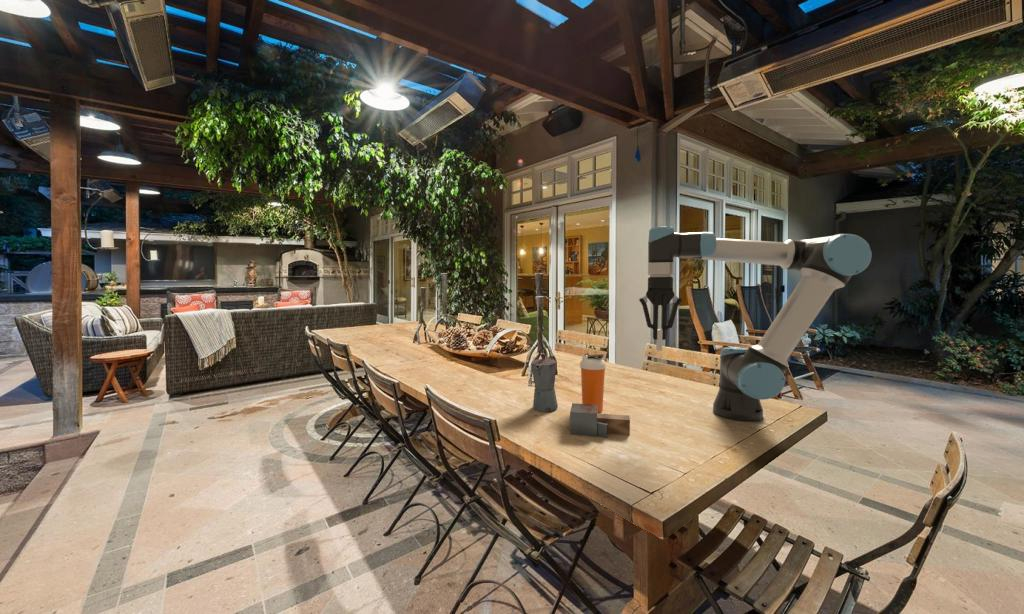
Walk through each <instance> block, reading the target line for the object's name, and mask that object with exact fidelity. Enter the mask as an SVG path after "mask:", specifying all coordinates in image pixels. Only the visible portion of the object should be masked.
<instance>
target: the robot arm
mask: <svg viewBox="0 0 1024 614" xmlns="http://www.w3.org/2000/svg"><path fill="white" fill-rule="evenodd" d="M647 244H648V245H647V246H648V248H647V250H648V251H647V252H648V255H647V260H648V261H647V262H648V265H647V275H648V276H649V277H648V278H647V290H646V293H645V295H644V296H642V297H640V298H638V301H639V302H640V304H641V305H642V310H643V313H644V314H643V315H644V318H645V322H646V326H647V328H649V329H652V338H653V340H655V342H656V343H655V347H656V348H655V349H656V351H660V352H661V351H663V340H664V341H666V339H667V330H669V329H672V328H673V327H674V326H673V325H674V322H675V318H676V315H677V312H678V309H679V305H680V304H681V303H682V301H683V299H682V298H681V297H678V296H676V295H675V292H674V278H673V275H674V258H678V259H683V260H684V259H685V260H686V259H693V260H705V261H706V260H707V261H719V262H732V263H742V264H743V263H746V264H758V265H769V266H779V267H781V269H783V270H792V271H797V272H798V271H799V272H801V275H802V277H801V279H800V280H799V282H798V283H797V284H796V286H795V288H794V290H793V291H792V292H791V294H790V295H789V297H788V298H787V300H786V301H785V303H784V304H783V306H782V307H781V309H780V311H779V312H778V314H777V315H776V317H775V318H774V319H773V320H772V322H771V324H770V325H769V327H768V329H767V330H766V331H765V333H764V334H763V336H762V337H761V339H760V340H759V342H758V343H757V344H753V345H750V346H749V347H732V346H731V347H727V346H726V347H723V348H721V350H720V355H719V361H720V362H719V365H720V366H719V388H718V391H717V394H716V396H715V399H714V400H713V405H712V411H713V413H715V414H716V415H718V416H720V417H723V418H727V419H729V420H730V419H731V420H735V421H743V422H755V421H761V420H763V418H764V410H763V406H762V403H761V400H770V399H772V398H775V397H776V396H779V394H781V392H783V390H784V387H785V384H786V379H785V374H786V372H787V371H788V369H789V367H790V366H789V362H788V359H789V357H790V356H791V354H792V353H793V351H794V350H795V349H796V347H797V346H798V344H799V342H800V341H801V340H802V338H803V337H804V336H805V334H806V333H807V331H808V329H809V328H810V326H811V325H812V323H813V322H814V321H815V319H816V318H817V316H818V315H819V313H820V312H821V311H822V309H823V307H824V306H825V304H826V302H828V300H829V298H830V297H831V296H832V294H833V293H834V291H835V290H838V289H841V288H844V287H846V285H847V283H848V282H849V281H850V279H851V277H853V276H855V275H858V274H861V273H862V272H864V271H865V270H866V269H867V268H868V267H869V265H870V264H871V261H872V256H873V253H872V250H871V247H870V244H869V243H868V241H867V240H865V238H863V237H861V236H859V235H857V234H852V233H837V234H834V235H827V236H820V237H814V238H808V239H807V238H806V239H787V240H785V241H784V242H783V241H767V240H754V239H753V240H752V239H751V240H750V239H749V240H748V239H737V238H724V237H723V238H720V237H717V236H716V234H715V232H711V231H697V232H695V231H693V232H675V228H674V227H673V226H671V225H670V226H667V225H663V226H662V225H661V226H654V227H651V228H650V229H649V231H648V241H647ZM648 301H649V302H650V304H652V309H653V310H652V320H651V317H650V312H649V308H648V305H647V303H648ZM670 302H672V303H673V304H672V307H671V309H670V314H669V317H667V312H668V311H667V310H668V304H669V303H670ZM659 306H661V307H660V308H661V312H660V313H661V318H660V319H661V323H660V327H661V328H659ZM667 318H668V322H667Z"/></svg>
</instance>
